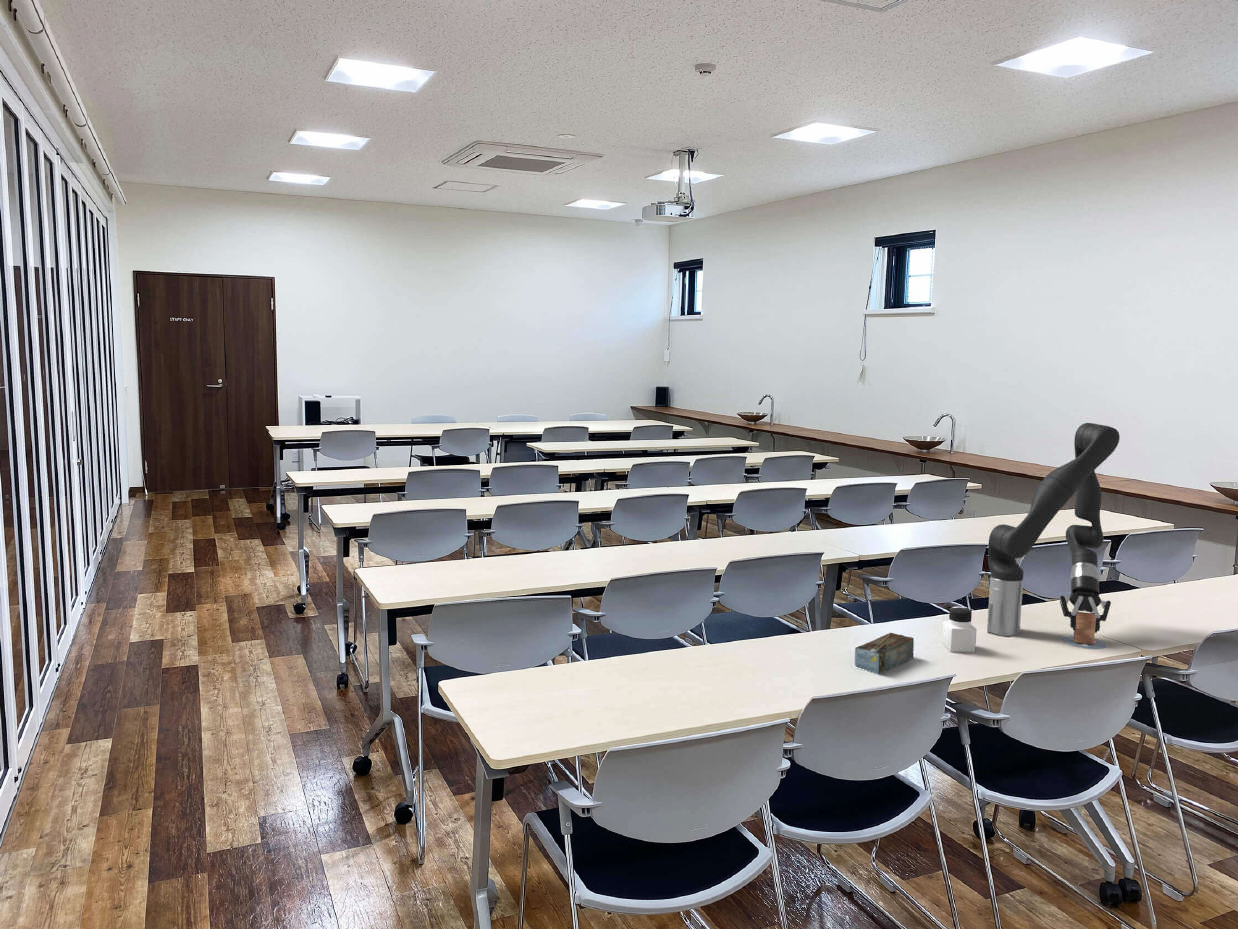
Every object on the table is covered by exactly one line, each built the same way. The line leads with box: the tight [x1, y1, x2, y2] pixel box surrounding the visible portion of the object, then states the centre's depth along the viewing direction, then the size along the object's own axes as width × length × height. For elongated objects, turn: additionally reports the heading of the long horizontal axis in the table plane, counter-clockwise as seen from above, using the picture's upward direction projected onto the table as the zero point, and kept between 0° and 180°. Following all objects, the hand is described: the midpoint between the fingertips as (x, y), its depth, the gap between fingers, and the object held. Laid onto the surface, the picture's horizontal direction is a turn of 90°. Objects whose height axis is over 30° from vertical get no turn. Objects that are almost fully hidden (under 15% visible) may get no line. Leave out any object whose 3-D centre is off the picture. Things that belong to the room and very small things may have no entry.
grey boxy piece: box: [854, 632, 915, 675], centre depth 242 cm, size 8×19×7 cm, turn 133°
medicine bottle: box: [941, 606, 977, 653], centre depth 254 cm, size 7×7×12 cm
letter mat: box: [1060, 635, 1108, 650], centre depth 260 cm, size 12×12×1 cm
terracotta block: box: [1073, 611, 1096, 644], centre depth 259 cm, size 5×5×8 cm
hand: (1085, 630), depth 258 cm, fingers closed on terracotta block, 5 cm apart
